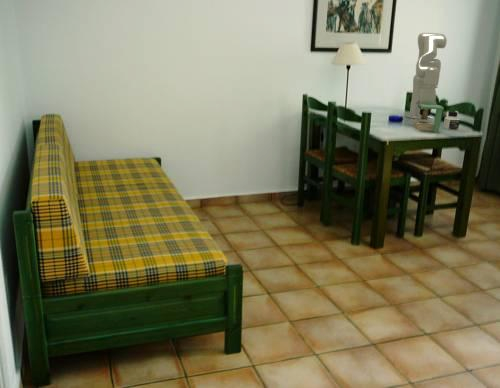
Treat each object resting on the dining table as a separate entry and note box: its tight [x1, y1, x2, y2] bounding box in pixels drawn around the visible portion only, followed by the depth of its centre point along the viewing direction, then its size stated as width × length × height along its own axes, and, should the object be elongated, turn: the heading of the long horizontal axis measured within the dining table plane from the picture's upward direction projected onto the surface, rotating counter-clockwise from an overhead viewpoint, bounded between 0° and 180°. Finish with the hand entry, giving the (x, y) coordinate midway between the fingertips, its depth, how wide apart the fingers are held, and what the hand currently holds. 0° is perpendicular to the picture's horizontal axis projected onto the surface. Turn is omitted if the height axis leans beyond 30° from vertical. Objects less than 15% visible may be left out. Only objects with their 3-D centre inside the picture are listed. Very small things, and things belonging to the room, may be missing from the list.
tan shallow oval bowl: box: [412, 120, 434, 132], centre depth 347 cm, size 14×10×4 cm
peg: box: [420, 108, 429, 121], centre depth 346 cm, size 4×4×10 cm
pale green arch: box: [419, 104, 445, 134], centre depth 337 cm, size 10×13×16 cm
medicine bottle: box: [442, 110, 461, 131], centre depth 349 cm, size 7×7×12 cm
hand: (424, 115), depth 347 cm, fingers closed on peg, 4 cm apart
